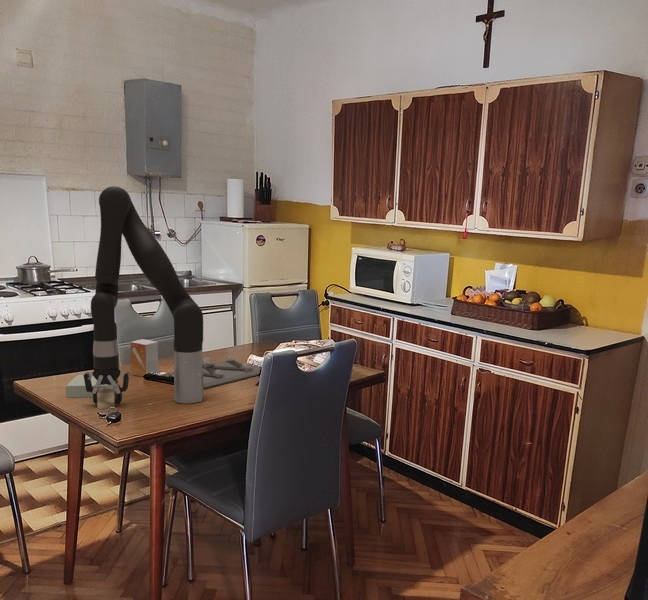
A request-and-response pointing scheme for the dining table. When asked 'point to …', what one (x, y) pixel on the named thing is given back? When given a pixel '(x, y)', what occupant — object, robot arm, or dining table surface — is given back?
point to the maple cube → (106, 398)
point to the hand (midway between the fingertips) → (107, 403)
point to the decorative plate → (225, 372)
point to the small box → (144, 357)
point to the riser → (82, 387)
